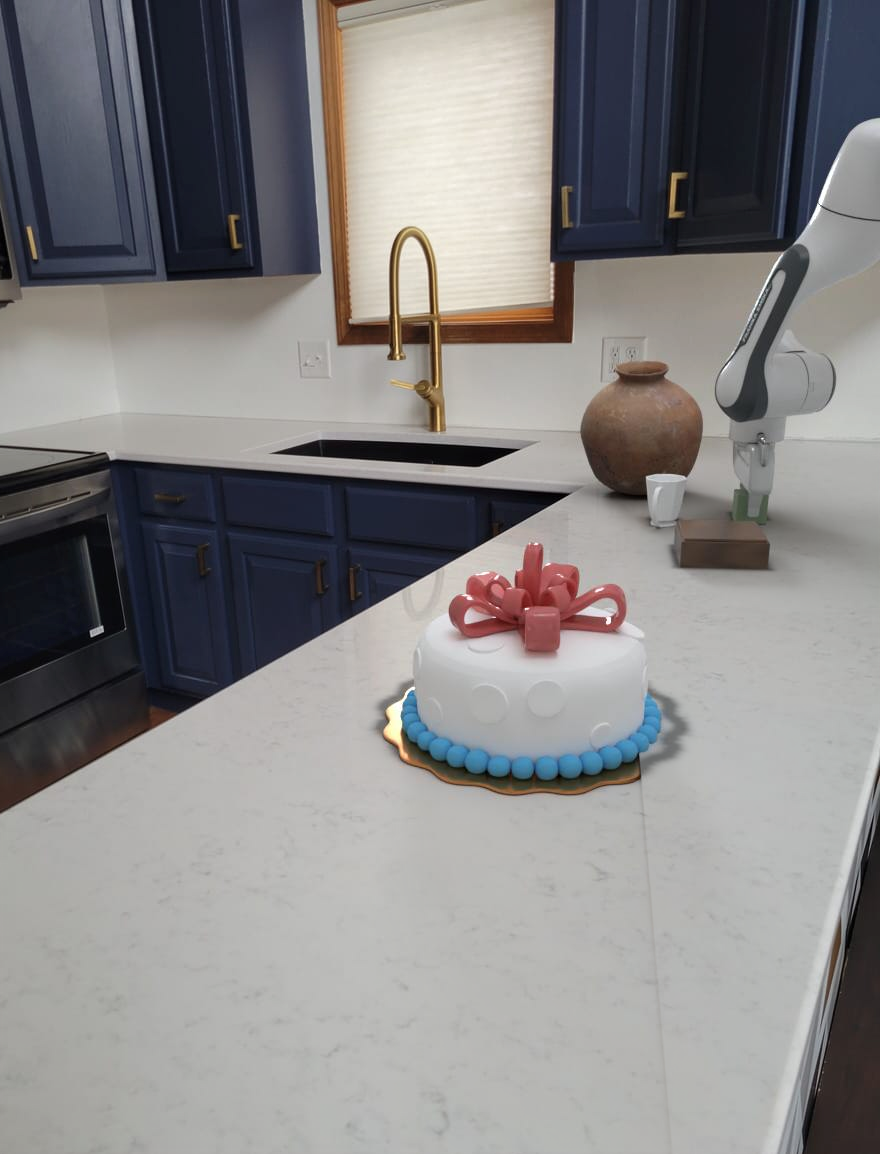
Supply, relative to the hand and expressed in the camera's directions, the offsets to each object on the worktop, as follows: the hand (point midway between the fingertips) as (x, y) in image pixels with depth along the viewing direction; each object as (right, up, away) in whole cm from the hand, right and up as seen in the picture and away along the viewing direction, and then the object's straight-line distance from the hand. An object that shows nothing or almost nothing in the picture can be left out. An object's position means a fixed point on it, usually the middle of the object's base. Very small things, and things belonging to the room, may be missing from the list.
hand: (748, 510), depth 165 cm
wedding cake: (-48, -31, -72) cm, 92 cm away
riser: (-13, -11, -23) cm, 28 cm away
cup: (-15, -3, -1) cm, 16 cm away
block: (0, -2, +1) cm, 2 cm away
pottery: (-13, +7, +24) cm, 28 cm away
